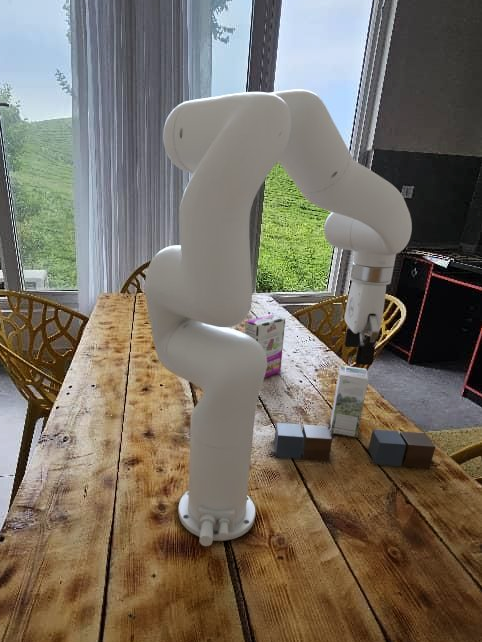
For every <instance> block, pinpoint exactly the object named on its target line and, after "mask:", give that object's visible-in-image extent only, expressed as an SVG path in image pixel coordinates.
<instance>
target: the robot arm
mask: <svg viewBox="0 0 482 642" xmlns="http://www.w3.org/2000/svg"><path fill="white" fill-rule="evenodd" d="M162 139H163V140H162V141H163V146H164V150H165V152H166V155H167V157H168V159H169V160H170V162H171V163H173V165H174V166H175V167H176V168H178V169H179V170H181V171H183V172H186V173H190V174H191V177H190V179H189V181H188V183H187V184H186V187H185V190H184V192H183V194H182V197H181V201H180V205H179V210H178V227H179V228H178V229H179V239H180V240H179V242H180V244H179V245H169V246H167V247H164V248H162V249H161V250H159V251H158V252H157V253H156V254H155V255H154V256H153V257H152V259H151V261H150V263H149V265H148V267H147V270H146V274H145V280H144V295H145V301H146V307H147V312H148V318H149V323H150V330H151V334H152V339H153V345H154V348H155V352H156V353H155V354H156V356H157V358H158V360H159V363H160V364H161V365H162V366H163V367H164V369H166V370H167V371H168V372H170V373H172V374H173V375H175V376H177V377H179V378H181V379H182V380H184V381H187V382H189V383H192V384H193V385H194V386H196V387H198V388H199V389H201V391H202V397H201V398H200V399H199V401H198V402H197V403H196V405H195V406H194V408H193V409H192V412H191V415H190V421H189V422H190V425H189V426H190V427H189V431H190V432H189V460H188V463H189V464H188V470H189V471H188V491H186V492H185V493H184V494H183V495H182V497H180V500H179V504H178V508H177V509H178V511H177V512H178V513H177V514H178V519H179V520H180V522H181V525H183V527H184V528H185V529H186V530H187V531H188V532H189V533H191V534H193V535H195V536H196V537H198V538H199V539H198V540H199V541H198V542H199V544H200V545H201V546H203V547H210V546H211V545H212V544H213V541H214V542H215V541H217V542H225V541H230V540H234V539H238V538H239V537H242V536H243V535H245V534H246V533H248V532H249V531H250V530H251V529H252V527H253V525H254V523H255V519H256V506H255V504H254V502H253V500H252V498H251V497H250V496H249V495H248V493H249V482H250V471H251V461H252V449H253V438H254V428H255V427H254V426H255V417H256V411H257V404H258V401H259V397H260V392H261V390H262V386H263V383H264V380H265V378H264V377H265V373H266V368H267V357H266V353H265V351H264V349H263V347H262V346H261V345H260V344H259V342H257V341H256V340H255V339H254V338H252V337H250V336H249V335H247V334H245V332H243V331H240V330H237V329H234V328H233V327H235V326H239V325H240V324H241V323H243V322H244V321H245V320H246V319H247V318H248V315H249V313H250V310H251V307H252V303H253V302H252V301H253V283H252V281H253V280H252V261H251V260H252V259H251V241H250V218H251V210H252V207H253V203H254V202H255V201H254V200H255V199H256V196H257V193H258V192H259V190H260V188H261V186H262V185H263V183H264V181H265V180H266V179H267V177H268V176H269V174H271V173H270V172H271V171H273V169H274V167H275V166H276V165H277V163H278V164H279V165H280V166H281V167H282V168H283V170H284V171H285V172H286V173H287V175H288V177H289V178H290V179H291V181H292V182H293V183H294V184H295V186H296V187H297V189H298V191H299V192H300V193H301V195H302V196H303V197H304V199H305V200H306V201H307V202H309V203H310V204H312V205H314V206H316V207H318V208H321V209H323V210H324V211H327V212H330V214H328V216H327V218H326V220H325V222H324V226H323V234H324V235H323V236H324V237H325V240H326V242H327V243H328V244H329V245H331V246H332V247H334V248H337V249H339V250H345V251H353V258H352V265H351V271H350V276H349V277H350V278H349V280H350V281H351V284H350V288H349V292H348V297H347V301H346V307H345V312H344V317H343V319H344V322H345V323H346V325H347V328H346V333H345V338H344V347H346V348H356V354H355V360H354V361H355V364H356V365H359V366H360V365H361V366H372V365H373V362H374V357H375V351H376V347H377V342H378V339H379V338H378V337H379V335H380V330H381V326H382V322H383V317H384V309H385V301H386V293H387V286H388V285H391V283H392V278H393V272H394V268H395V263H396V262H395V261H396V257H397V254H400V253H401V252H402V251H403V250H404V249H405V248H406V247H407V245H408V244H409V241H410V240H411V236H412V232H413V231H412V230H413V228H412V227H413V225H412V217H411V213H410V211H409V208H408V206H407V202H406V201H405V198H404V196H403V194H402V193H401V192H400V191H399V189H398V188H397V187H396V186H394V184H392V183H391V182H389V181H388V180H386V179H385V178H384V177H383V176H381V175H379V174H377V173H375V172H374V171H373V170H371V169H370V168H368V167H367V166H365V165H363V164H361V163H359V162H357V161H356V160H355V159H354V158H353V156H352V155H351V153H350V150H349V148H348V147H347V144H346V143H345V141H344V138H343V136H342V135H341V132H340V131H339V129H338V127H337V125H336V123H335V121H334V120H333V118H332V115H331V113H330V111H329V110H328V107H327V106H326V104H325V103H324V101H323V100H322V98H321V97H320V96H319V95H318V94H317V93H315V92H313V91H310V90H307V89H289V90H280V91H274V92H264V91H246V92H238V93H230V94H224V95H219V96H212V97H205V98H198V99H192V100H186V101H183V102H182V103H179V104H177V106H176V107H174V108H173V109H172V111H170V113H169V114H168V116H167V118H166V120H165V123H164V127H163V132H162ZM365 336H366V337H365Z"/></svg>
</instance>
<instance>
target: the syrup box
mask: <svg viewBox="0 0 482 642" xmlns="http://www.w3.org/2000/svg"><path fill="white" fill-rule="evenodd" d="M368 385H369V376H368V371H367V368H362V367H355V366H350V365H349V366H348V365H339V367H338V374H337V379H336V386H335V392H334V398H333V403H332V409H331V415H330V434H333V435H338V436H343V437H351V438H356V439H357V438H358V433H359V428H360V424H361V419H362V413H363V409H364V404H365V399H366V395H367V389H368Z"/></svg>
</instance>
